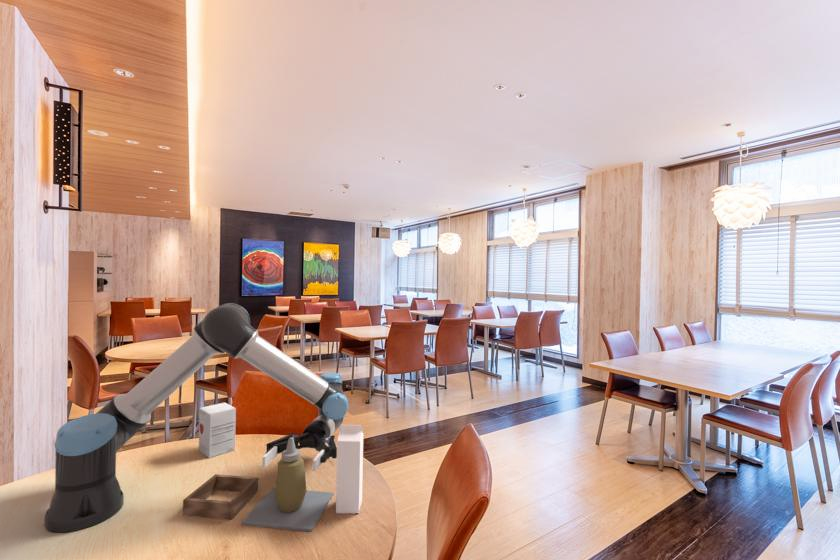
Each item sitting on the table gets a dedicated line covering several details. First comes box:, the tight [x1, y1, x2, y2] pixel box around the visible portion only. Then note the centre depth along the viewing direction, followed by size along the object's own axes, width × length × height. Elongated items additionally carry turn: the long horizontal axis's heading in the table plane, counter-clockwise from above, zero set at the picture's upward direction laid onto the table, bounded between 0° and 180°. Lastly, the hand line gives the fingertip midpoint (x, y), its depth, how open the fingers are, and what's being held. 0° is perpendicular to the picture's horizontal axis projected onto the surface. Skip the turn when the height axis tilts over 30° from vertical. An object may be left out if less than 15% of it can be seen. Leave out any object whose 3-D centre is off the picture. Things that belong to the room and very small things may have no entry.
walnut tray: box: [182, 473, 259, 521], centre depth 104 cm, size 13×13×4 cm
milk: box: [335, 423, 364, 515], centre depth 103 cm, size 6×6×22 cm
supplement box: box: [198, 401, 237, 459], centre depth 135 cm, size 9×9×15 cm
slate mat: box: [240, 487, 335, 532], centre depth 102 cm, size 18×16×1 cm
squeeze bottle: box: [274, 437, 307, 512], centre depth 102 cm, size 8×8×18 cm
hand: (288, 464), depth 100 cm, fingers open, 13 cm apart
